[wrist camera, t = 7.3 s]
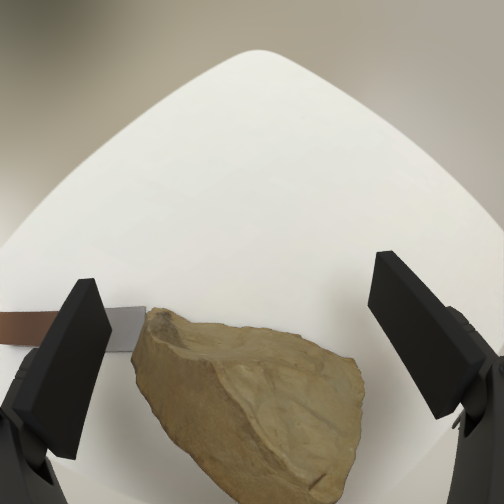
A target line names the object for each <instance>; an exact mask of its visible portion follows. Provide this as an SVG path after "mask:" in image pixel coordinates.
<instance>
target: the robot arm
mask: <svg viewBox="0 0 504 504" xmlns="http://www.w3.org/2000/svg"><path fill="white" fill-rule="evenodd" d="M367 306H368V307H369V309H370V310H371V312H372V313H373V315H374V316H375V318H376V319H377V321H378V323H379V324H380V326H381V327H382V329H383V331H384V332H385V334H386V335H387V337H388V339H389V340H390V342H391V343H392V345H393V347H394V348H395V350H396V352H397V353H398V355H399V356H400V358H401V360H402V361H403V363H404V365H405V366H406V368H407V370H408V372H409V373H410V375H411V377H412V378H413V380H414V382H415V383H416V385H417V387H418V389H419V390H420V392H421V394H422V396H423V397H424V399H425V401H426V403H427V405H428V406H429V408H430V410H431V412H432V414H433V415H434V417H435V419H436V420H437V419H440V418H442V417H444V416H447V415H449V414H451V413H453V412H454V411H455V409H456V408H457V406H458V405H459V403H460V402H461V404H462V406H463V407H464V409H463V411H462V412H461V414H460V415H459V416H458V418H457V419H456V420H455V422H454V423H453V426H452V429H454V428H455V427H456V426H457V424H458V423H459V422H460V427H459V428H458V430H459V436H458V446H457V452H456V459H455V465H454V471H453V476H452V482H451V487H450V491H449V496H448V500H447V504H504V356H500V357H499V356H498V355H497V354H496V353H495V352H494V351H493V349H492V348H491V347H490V346H489V345H488V343H487V342H486V341H485V340H484V339H483V337H482V336H481V335H480V334H479V333H478V331H475V328H474V327H473V326H472V325H471V324H469V321H468V320H467V319H466V318H465V317H464V316H463V314H462V313H460V312H459V311H457V310H456V309H454V308H453V307H451V306H448V307H445V306H444V305H443V304H442V303H441V302H440V300H439V299H438V298H437V297H436V296H435V295H434V294H433V293H432V292H431V291H430V289H429V288H428V287H427V286H426V285H425V284H424V283H423V282H422V281H421V280H420V279H419V278H418V277H417V276H416V275H415V273H414V272H413V271H412V270H411V269H410V268H409V267H408V266H407V265H406V264H405V263H404V262H403V261H402V260H401V259H400V258H399V257H398V256H397V255H396V254H395V253H394V252H393V251H382V252H377V253H376V259H375V266H374V272H373V278H372V284H371V289H370V295H369V300H368V305H367ZM111 333H112V327H111V325H110V322H109V320H108V317H107V314H106V311H105V309H104V306H103V303H102V300H101V297H100V294H99V291H98V288H97V285H96V282H95V279H94V278H88V279H78V281H77V282H76V284H75V286H74V287H73V289H72V290H71V292H70V294H69V295H68V297H67V299H66V300H65V302H64V304H63V305H62V307H61V309H60V311H59V312H58V314H57V316H56V317H55V319H54V321H53V323H52V325H51V326H50V328H49V330H48V332H47V334H46V336H45V337H44V339H43V341H42V343H41V345H40V347H39V348H33V349H32V350H31V351H30V352H29V353H28V354H27V355H26V356H25V357H24V359H23V361H22V363H21V365H20V367H19V370H18V371H17V373H16V375H15V379H13V381H12V383H11V386H10V388H9V390H8V392H7V394H6V396H5V398H4V401H3V403H2V405H1V407H0V504H68V503H67V501H66V499H65V496H64V494H63V492H62V489H61V487H60V485H59V482H58V480H57V477H56V475H55V473H54V470H53V467H52V465H51V462H50V460H49V459H48V457H47V456H46V452H47V449H49V450H50V451H51V452H52V453H53V454H54V455H55V456H56V457H61V458H66V459H72V460H75V459H76V455H77V450H78V446H79V442H80V438H81V434H82V430H83V426H84V422H85V418H86V414H87V410H88V407H89V403H90V400H91V396H92V393H93V389H94V386H95V383H96V379H97V376H98V373H99V370H100V366H101V363H102V360H103V357H104V354H105V351H106V348H107V345H108V342H109V339H110V336H111Z"/></svg>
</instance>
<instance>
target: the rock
mask: <svg viewBox="0 0 504 504" xmlns="http://www.w3.org/2000/svg"><path fill="white" fill-rule="evenodd" d="M131 363H132V364H133V366H134V369H135V373H136V384H137V386H138V388H139V390H140V392H141V394H142V395H143V396H144V397H145V399H146V400H147V402H148V403H149V405H150V407H151V409H152V413H153V414H154V415H155V416H156V417H157V418H158V420H159V421H160V424H161V426H162V428H163V429H164V431H165V432H166V433H167V435H168V437H169V438H170V439H171V440H172V441H173V443H174V444H175V445H177V446H178V447H179V448H181V449H182V450H183V451H185V452H186V453H188V454H189V455H190V456H191V457H192V458H193V460H194V461H195V462H196V463H197V464H198V466H199V467H200V468H201V469H202V470H203V471H204V472H205V473H206V474H207V475H208V476H209V477H210V478H211V479H212V480H213V481H214V482H215V483H216V484H217V485H218V486H219V487H220V488H221V489H222V490H223V491H225V492H226V493H227V494H228V495H229V496H230V497H231V498H233V499H234V500H235V501H237V502H238V503H239V504H335V503H336V502H337V501H338V500H339V499H340V498H341V496H342V494H343V490H344V485H345V480H346V478H347V476H348V473H349V471H350V469H351V467H352V465H353V463H354V461H355V458H356V448H357V446H358V444H359V441H360V438H361V418H362V410H361V406H362V400H363V398H364V396H365V389H364V381H363V379H362V377H361V371H360V370H359V369H358V366H357V365H356V363H355V360H354V359H353V358H343V357H340V356H338V355H336V354H334V353H332V352H330V351H328V350H325V349H323V348H321V347H319V346H318V345H317V344H315V343H313V342H310V341H308V340H305V339H303V338H302V337H301V335H299V334H291V333H285V332H279V331H275V330H272V329H268V328H253V327H242V328H237V327H229V326H226V325H224V324H219V323H191V322H189V321H187V320H186V319H184V318H183V317H180V316H178V315H176V314H175V313H174V312H172V311H170V310H167V309H164V308H162V309H160V308H153V309H152V310H151V311H150V312H148V313H147V314H146V317H145V320H144V324H143V326H142V329H141V331H140V334H139V338H138V341H137V343H136V346H135V348H134V351H133V353H132V357H131Z"/></svg>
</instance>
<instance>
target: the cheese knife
mask: <svg viewBox="0 0 504 504" xmlns="http://www.w3.org/2000/svg"><path fill="white" fill-rule="evenodd" d="M104 309H105V311H106V314H107V317H108V320H109V322H110V325H111V327H112V333H111V336H110V339H109V342H108V345H107V348H106V351H105V352H128V351H134V348H135V346H136V343H137V341H138V338H139V334H140V331H141V329H142V326H143V324H144V320H145V317H146V310H145V307H144V306H140V307H122V308H104ZM58 312H59V311H48V312H0V344H4V345H13V346H30V347H40V345H41V343H42V341H43V339H44V337H45V336H46V334H47V332H48V330H49V328H50V326H51V325H52V323H53V321H54V319H55V317H56V316H57V314H58Z"/></svg>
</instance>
